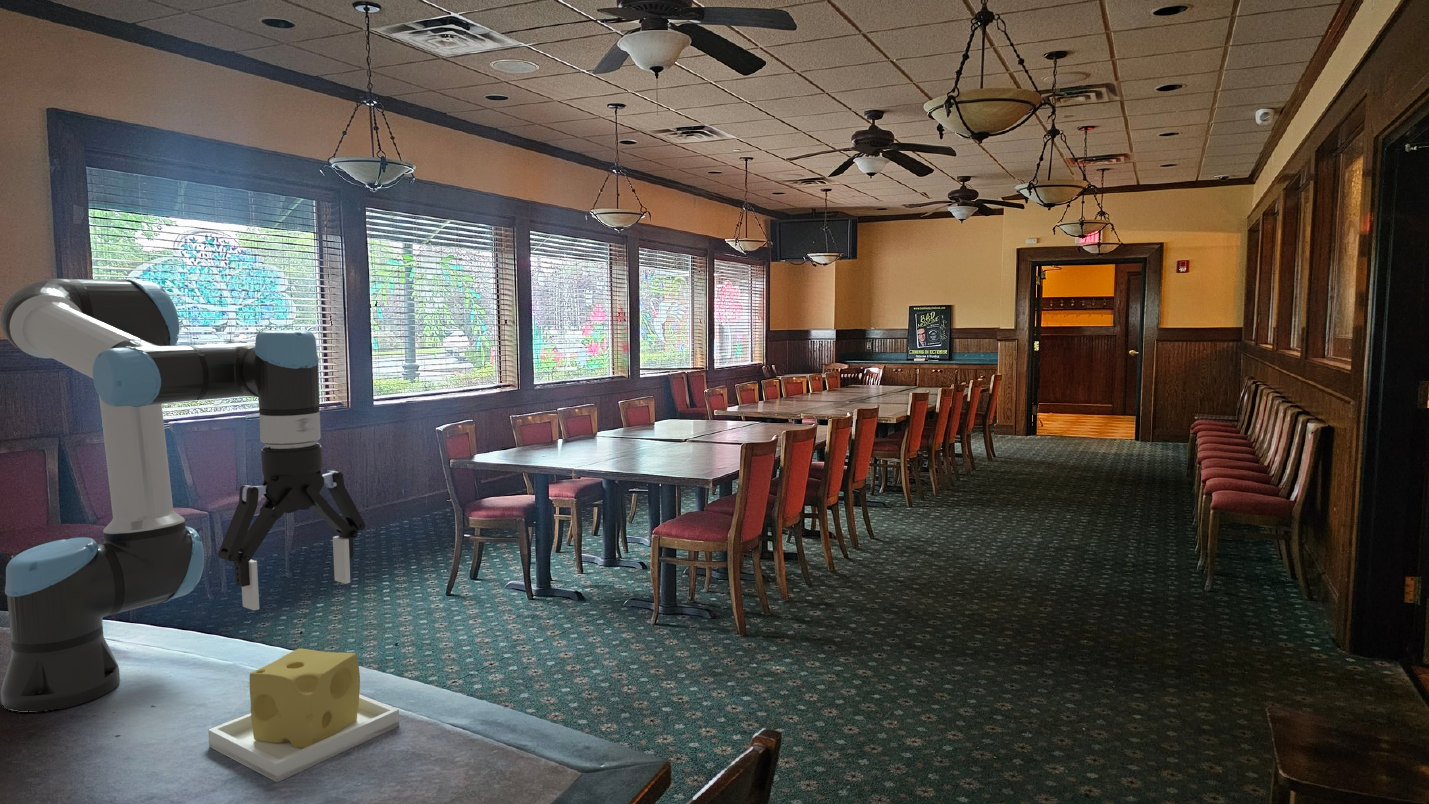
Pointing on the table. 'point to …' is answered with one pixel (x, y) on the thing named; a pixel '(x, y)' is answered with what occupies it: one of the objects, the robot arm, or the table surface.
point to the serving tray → (291, 760)
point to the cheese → (304, 697)
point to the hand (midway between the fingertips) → (298, 594)
